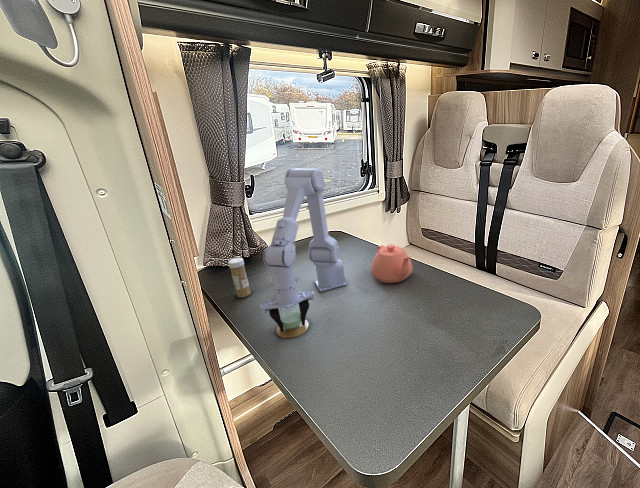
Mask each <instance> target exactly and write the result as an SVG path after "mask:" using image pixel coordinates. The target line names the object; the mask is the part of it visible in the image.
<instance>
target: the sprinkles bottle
mask: <svg viewBox="0 0 640 488" xmlns="http://www.w3.org/2000/svg"><path fill="white" fill-rule="evenodd" d="M227 263H228V267H229V269H230V273H231V278H232V281H233V286H234V289H235V291H236V297H237V298H242V299H243V298H246V297H248V296H250V295H251V294H252V291H251V288H250V284H249V279H248V275H247V272H246V268H245V261H244V258H242V257H233V258H231V259H230V260H228V262H227Z"/></svg>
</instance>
